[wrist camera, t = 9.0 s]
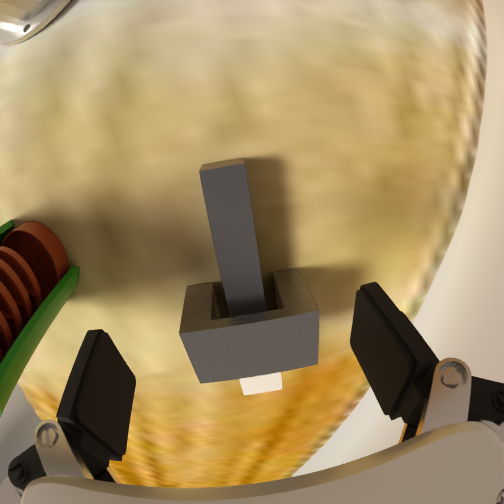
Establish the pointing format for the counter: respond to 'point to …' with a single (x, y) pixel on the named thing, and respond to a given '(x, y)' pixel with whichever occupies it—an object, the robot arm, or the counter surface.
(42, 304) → the motor
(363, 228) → the counter surface
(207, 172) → the plug
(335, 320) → the counter surface
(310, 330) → the housing
